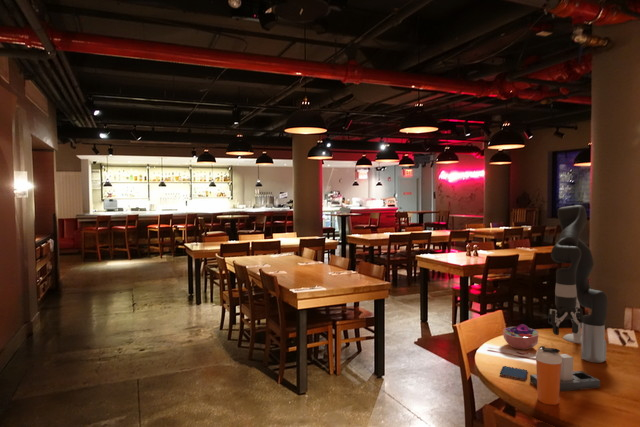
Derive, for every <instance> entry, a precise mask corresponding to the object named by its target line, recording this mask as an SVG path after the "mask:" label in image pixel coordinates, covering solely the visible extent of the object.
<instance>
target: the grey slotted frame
mask: <svg viewBox="0 0 640 427" xmlns="http://www.w3.org/2000/svg"><path fill="white" fill-rule="evenodd" d="M529 382H530V383H531V384H532V385H534V386H536V387H537V373H536V374H530V375H529ZM598 388H601V380H600V379H599V378H597V377H595V376H592V375H590V374H589V373H587V372H585V371H583V370H573V380H568V381H563V380H561V379H560V391H559V392H566V391H567V392H568V391H569V392H570V391H578V390H588V389H598Z"/></svg>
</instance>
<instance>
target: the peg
mask: <svg viewBox="0 0 640 427" xmlns="http://www.w3.org/2000/svg"><path fill="white" fill-rule="evenodd" d="M559 354H560V353H559ZM560 355H561V357H562V363H561V375H560V379H561V380H563V381H568V380H573V371H574V357H573V356H572V355H569V354H568V353H561V354H560Z"/></svg>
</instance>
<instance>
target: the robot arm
mask: <svg viewBox="0 0 640 427" xmlns="http://www.w3.org/2000/svg"><path fill="white" fill-rule="evenodd" d="M557 218H558V222H559V225H560V228H561V233H560V235H559V240H558V241H557V242H556V243H555V245H554V246H553V247H552V248H551V252H550V258H551V259H552V260H553V261H554V263H559V264H570V265H569V266H568V267H561V268H558V269H557V270H555V271H556V273H555V287H554V288H555V289H554V293H555V294H554V296H555V297H554V298H555V300H554V302H555V303H554V304H555V307H556V308H555V309H552V308H549V309H548V313H547V314H548V317H547V322H548V324H550V325H552V333H553V335H555V336H559V335H560V324H561V323H562V322H563V321H566V320H570V321H571V332H572V334H573V333H575V334H577V333H578V325H579V323H581V344H580V348H581V350H580V352H581V353H580V355H581V359H582V360H583V361H587V362H590V363H603V362H605V361H607V340H606V339H605V337H606V336H605V334H606V333H605V332H606V330H605V329H606V328H605V325H606V320H607V312H608V295H607V294H606V292H604V291H602V290H597V289H593V288H591V287H590V283H589V276H590V274H591V272H592V270H593V268H594V259H593V254H592V251H591V249H590V248H589V246H588V245H587V244H586V243H584V241H582V240H581V239H580V235H581V234H582V231H583V230H584V228H585V225H586V224H587V222H588V221H587V220H588V214H587V211H586V208H585V206H584V205H581V204H575V205H569V206H562V207H559V208H558V209H557ZM576 292H577V298H578V301H579V304H580V308H579V307H576ZM575 307H576V308H575ZM581 307H583V308H587V309H591V314H584V312H583V310H584V309H583V308H581ZM575 312H576V316H575ZM579 317H580V319H579Z"/></svg>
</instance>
